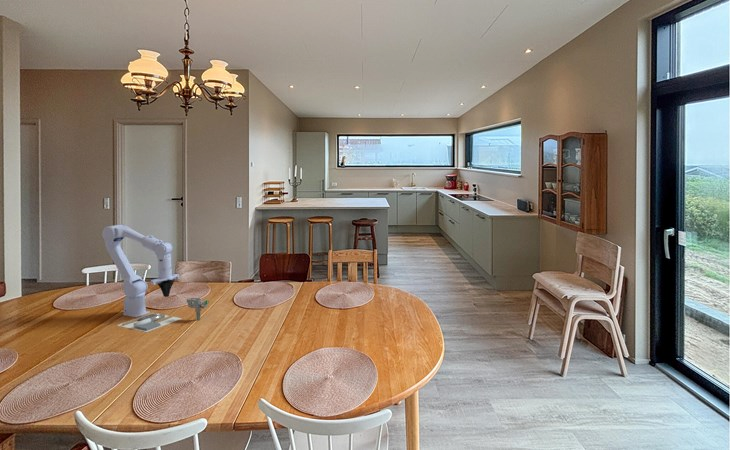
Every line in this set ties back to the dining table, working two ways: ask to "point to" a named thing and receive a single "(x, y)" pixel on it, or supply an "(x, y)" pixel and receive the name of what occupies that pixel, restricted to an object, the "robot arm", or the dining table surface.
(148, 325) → the hinge jig
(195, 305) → the mechanical component
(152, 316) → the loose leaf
